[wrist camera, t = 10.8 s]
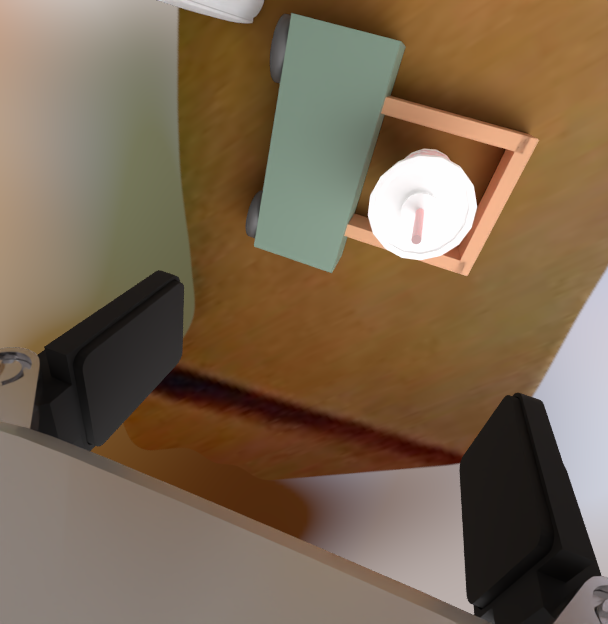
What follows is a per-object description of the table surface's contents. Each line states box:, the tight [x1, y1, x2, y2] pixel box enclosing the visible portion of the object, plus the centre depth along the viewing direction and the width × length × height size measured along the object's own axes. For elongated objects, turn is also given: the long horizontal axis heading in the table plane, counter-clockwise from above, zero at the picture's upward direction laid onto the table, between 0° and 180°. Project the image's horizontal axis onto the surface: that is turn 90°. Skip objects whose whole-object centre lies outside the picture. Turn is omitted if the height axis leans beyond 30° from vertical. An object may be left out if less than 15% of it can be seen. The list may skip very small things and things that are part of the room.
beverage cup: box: [368, 149, 477, 260], centre depth 24 cm, size 6×6×14 cm
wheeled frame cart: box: [246, 13, 539, 276], centre depth 29 cm, size 16×18×4 cm
